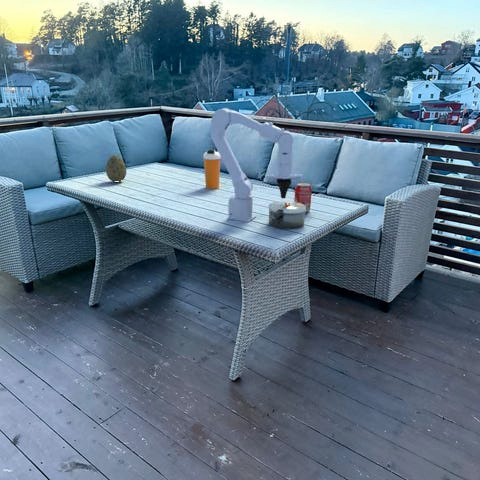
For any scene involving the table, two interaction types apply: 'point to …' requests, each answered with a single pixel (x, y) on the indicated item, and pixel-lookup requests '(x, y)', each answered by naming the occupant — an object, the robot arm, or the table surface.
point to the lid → (286, 208)
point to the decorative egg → (115, 168)
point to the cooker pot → (287, 220)
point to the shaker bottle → (212, 168)
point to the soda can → (303, 195)
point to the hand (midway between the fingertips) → (283, 197)
